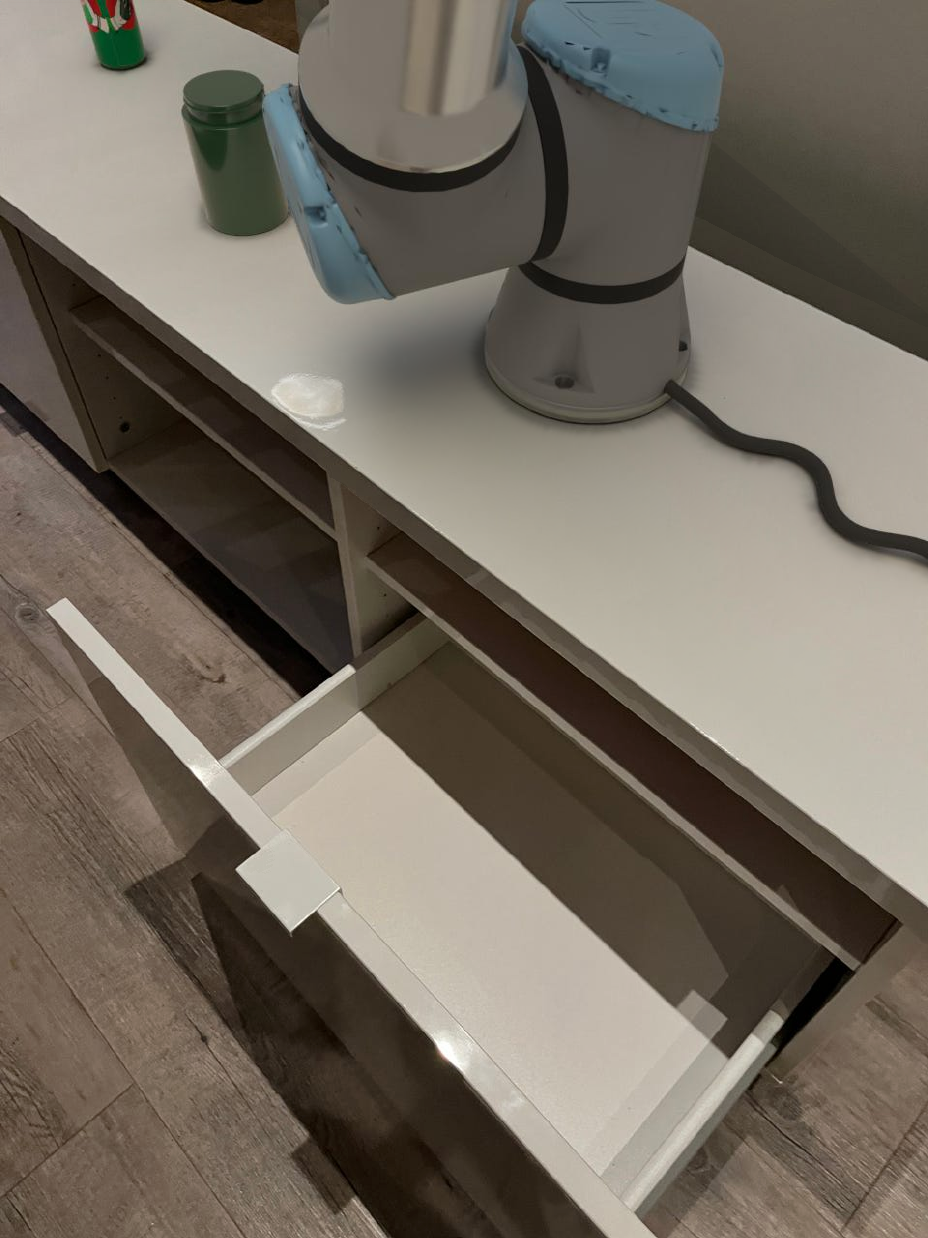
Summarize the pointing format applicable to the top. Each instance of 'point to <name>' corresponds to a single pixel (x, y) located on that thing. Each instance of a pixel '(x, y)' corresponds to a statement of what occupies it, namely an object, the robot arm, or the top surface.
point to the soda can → (115, 32)
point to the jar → (233, 153)
